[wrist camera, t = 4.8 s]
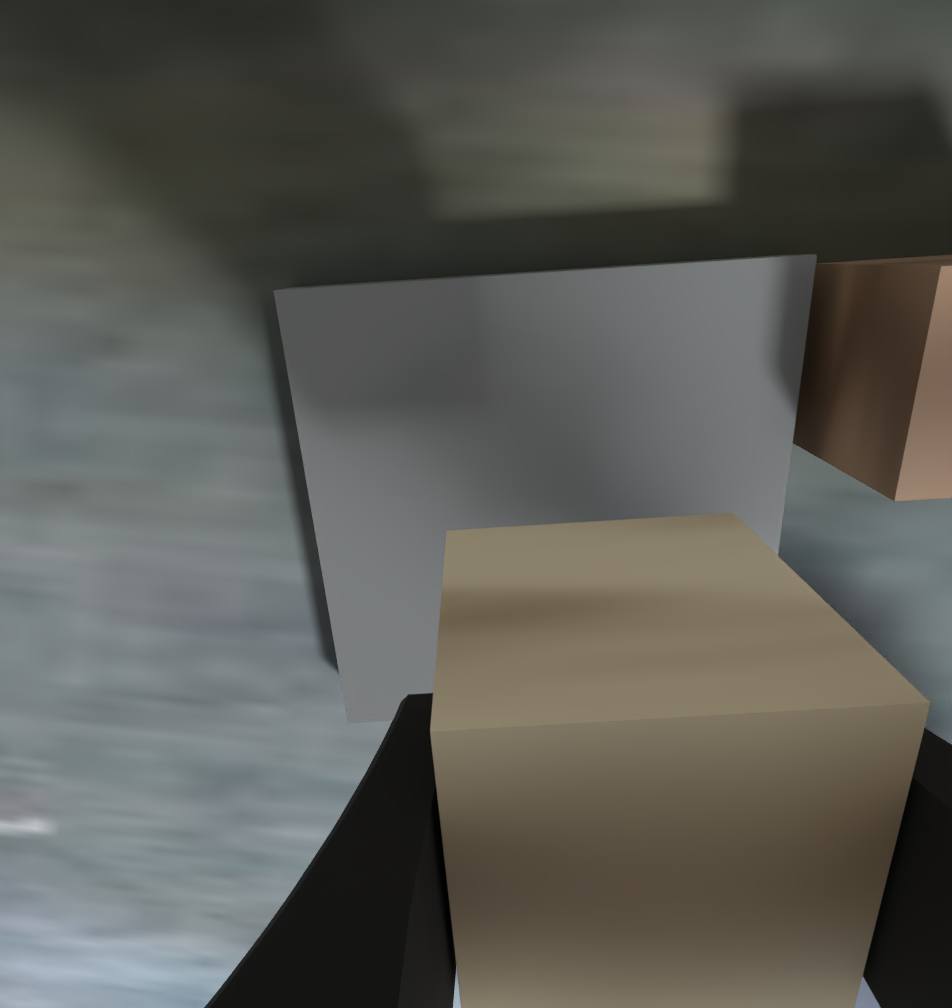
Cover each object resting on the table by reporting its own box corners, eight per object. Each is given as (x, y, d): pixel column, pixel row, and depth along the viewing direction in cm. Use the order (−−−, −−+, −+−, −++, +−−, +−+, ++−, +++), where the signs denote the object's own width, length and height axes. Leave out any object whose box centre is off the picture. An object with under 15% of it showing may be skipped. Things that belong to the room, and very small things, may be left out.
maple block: (711, 739, 11) (851, 1018, 7) (466, 753, 11) (465, 1037, 7) (733, 512, 10) (931, 702, 6) (446, 530, 10) (429, 730, 6)
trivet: (738, 667, 20) (759, 698, 18) (356, 689, 20) (347, 722, 18) (784, 254, 15) (817, 254, 14) (291, 287, 15) (273, 290, 14)
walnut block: (956, 430, 17) (1116, 487, 13) (789, 440, 17) (894, 501, 13) (997, 251, 15) (1196, 249, 11) (811, 263, 15) (941, 266, 11)
